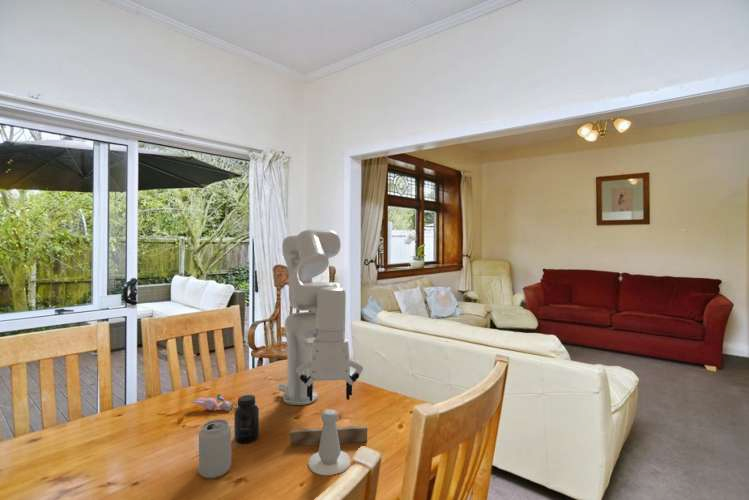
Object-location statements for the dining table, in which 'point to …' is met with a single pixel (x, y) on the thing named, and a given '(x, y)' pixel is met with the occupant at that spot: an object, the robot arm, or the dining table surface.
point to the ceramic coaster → (324, 469)
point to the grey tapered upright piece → (329, 438)
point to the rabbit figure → (215, 403)
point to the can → (214, 448)
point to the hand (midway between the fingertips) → (329, 398)
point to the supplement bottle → (246, 420)
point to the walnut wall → (314, 435)
